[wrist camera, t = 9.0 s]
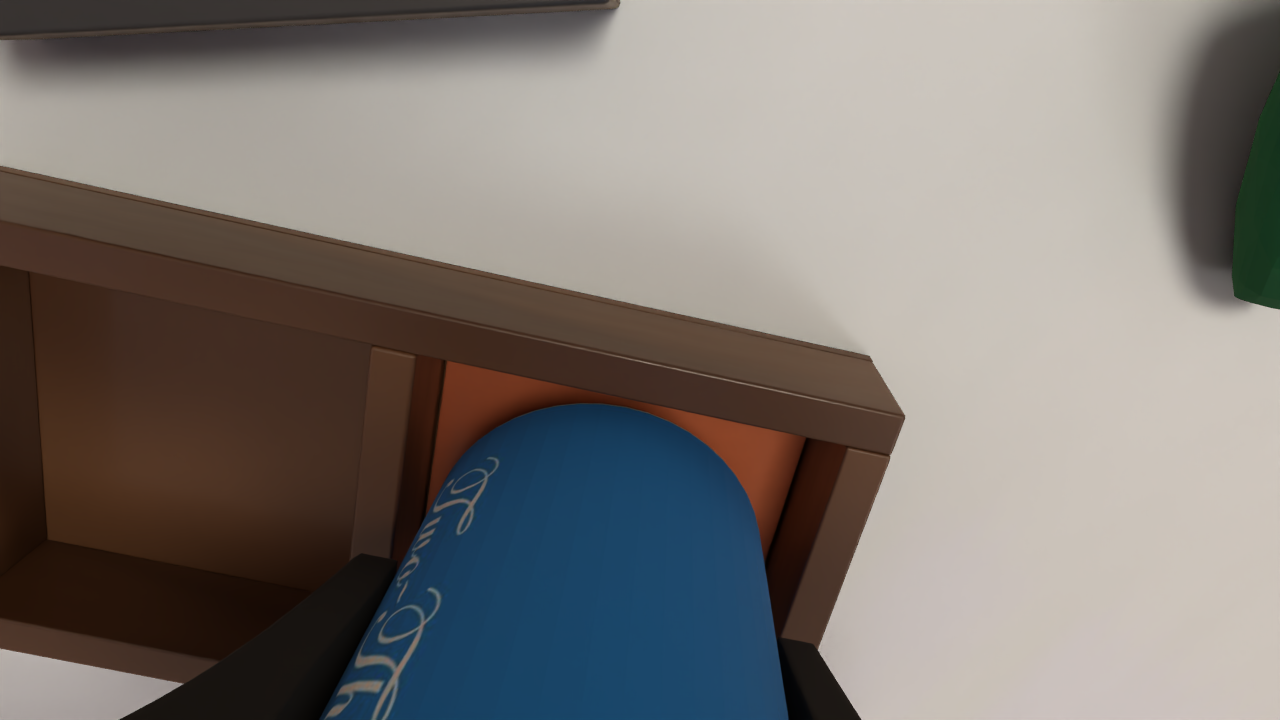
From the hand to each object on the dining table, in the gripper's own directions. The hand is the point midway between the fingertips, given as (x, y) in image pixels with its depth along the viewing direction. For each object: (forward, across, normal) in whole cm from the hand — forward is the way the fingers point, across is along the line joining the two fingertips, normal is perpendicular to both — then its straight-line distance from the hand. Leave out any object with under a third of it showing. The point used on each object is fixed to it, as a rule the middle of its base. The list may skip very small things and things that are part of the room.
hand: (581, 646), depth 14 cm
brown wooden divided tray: (+5, +4, 0) cm, 6 cm away
